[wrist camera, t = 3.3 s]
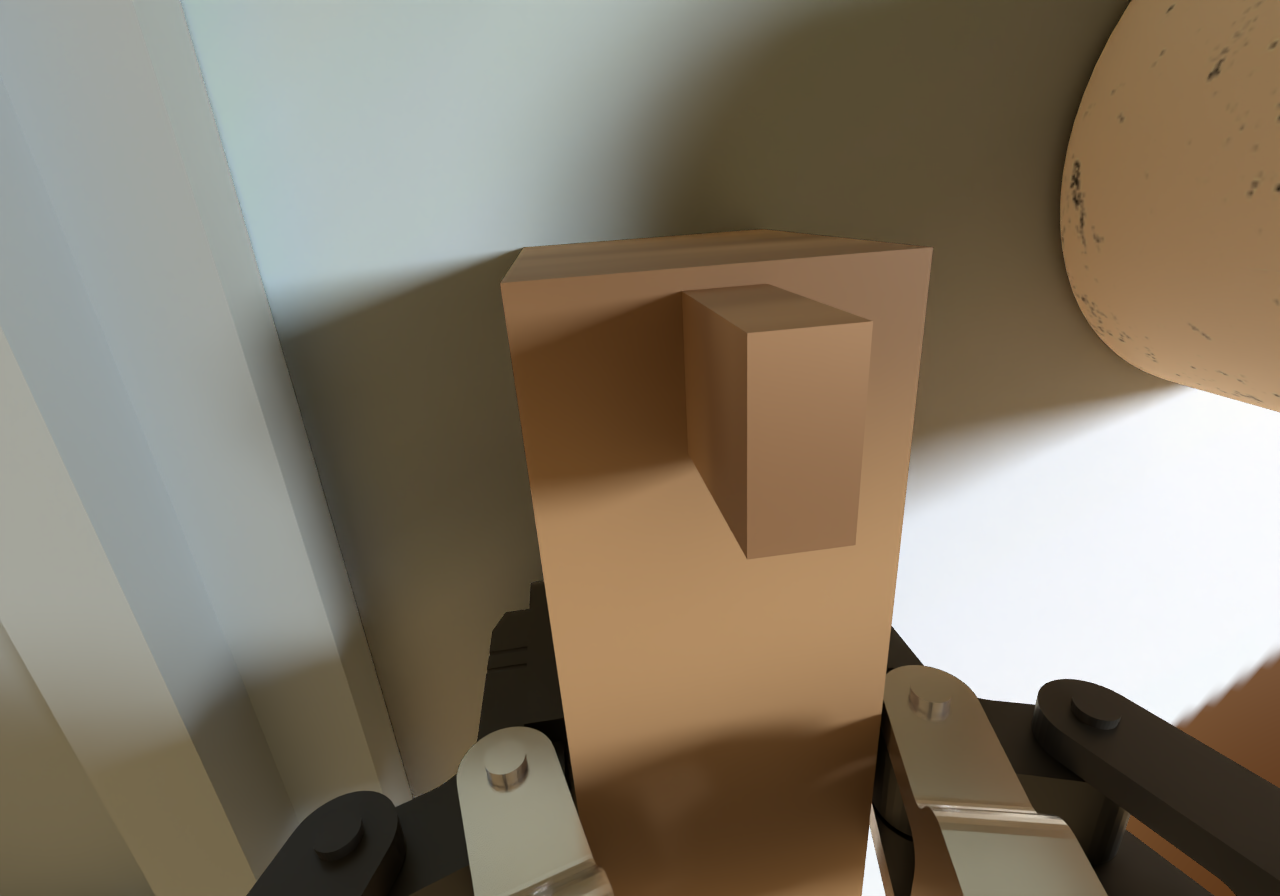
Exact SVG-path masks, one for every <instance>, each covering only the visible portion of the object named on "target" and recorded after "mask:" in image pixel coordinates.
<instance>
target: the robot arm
mask: <svg viewBox="0 0 1280 896" xmlns="http://www.w3.org/2000/svg"><path fill="white" fill-rule="evenodd" d="M1130 814H1131V815H1132V816H1134V817H1135V818H1137V819H1138V820H1139V821H1141V822H1142V823H1143V824H1145V825H1146V826H1148V827H1149V828H1150V829H1152V830H1153V831H1154V832H1156V833H1157V834H1159V835H1160V836H1161V837H1163V838H1164V839H1166V840H1167V841H1168V842H1170V843H1171V844H1173V845H1174V846H1175V847H1176V848H1178V849H1179V850H1181V851H1182V852H1183V853H1185V854H1186V855H1187V856H1189V857H1190V858H1192V859H1193V860H1194V861H1196V862H1197V863H1198V864H1200V865H1201V866H1203V867H1204V868H1205V869H1207V870H1208V871H1209V872H1211V873H1212V874H1214V875H1215V876H1216V877H1218V878H1219V879H1220V880H1221V881H1223V882H1224V883H1225V884H1226V885H1227V886H1228V887H1229V888H1230V889H1231V890H1232V891H1233V892H1234V894H1235V895H1236V896H1280V788H1278V787H1276V786H1275V785H1273V784H1271V783H1270V782H1268V781H1266V780H1265V779H1263V778H1261V777H1260V776H1258V775H1256V774H1254V773H1252V772H1251V771H1249V770H1248V769H1246V768H1244V767H1242V766H1241V765H1239V764H1237V763H1236V762H1234V761H1232V760H1231V759H1229V758H1227V757H1225V756H1224V755H1222V754H1220V753H1219V752H1217V751H1215V750H1214V749H1212V748H1210V747H1208V746H1207V745H1205V744H1203V743H1202V742H1200V741H1198V740H1196V739H1195V738H1193V737H1191V736H1190V735H1188V734H1186V733H1184V732H1183V731H1181V730H1179V729H1178V728H1176V727H1174V726H1173V725H1171V724H1169V723H1168V722H1166V721H1164V720H1162V719H1161V718H1159V717H1157V716H1156V715H1154V714H1152V713H1151V712H1149V711H1147V710H1145V709H1144V708H1142V707H1140V706H1139V705H1137V704H1135V703H1134V702H1132V701H1130V700H1128V699H1127V698H1125V697H1123V696H1122V695H1120V694H1118V693H1116V692H1114V691H1112V690H1110V689H1107V688H1105V687H1103V686H1100V685H1097V684H1094V683H1090V682H1086V681H1081V680H1074V679H1060V680H1054V681H1051V682H1048V683H1046V684H1045V685H1043V686H1042V687H1041V689H1040V690H1039V692H1038V696H1037V700H1036V705H1032V704H1022V703H1012V702H1002V701H992V700H986V699H980V698H977V696H976V695H975V693H974V692H973V691H972V690H971V689H970V688H969V687H968V686H967V685H966V684H965V683H964V682H962V681H961V680H959V679H958V678H957V677H955V676H953V675H951V674H949V673H947V672H945V671H942V670H939V669H936V668H933V667H928V666H924V665H923V664H922V663H921V662H920V660H919V659H918V658H917V657H916V655H915V654H914V653H913V652H912V651H911V649H910V648H909V647H908V646H907V644H906V643H905V642H904V641H903V639H902V638H901V637H900V636H899V635H898V633H897V632H896V631H895V630H894V628H893V627H892V626H891V633H890V642H889V651H888V660H887V669H886V678H885V687H884V696H883V705H882V714H881V723H880V732H879V741H878V750H877V760H876V769H875V778H874V787H873V796H872V805H871V814H870V823H869V825H870V829H871V834H872V838H873V842H874V847H875V851H876V855H877V860H878V864H879V868H880V873H881V877H882V881H883V886H884V890H885V894H886V896H1214V895H1212V894H1211V893H1210V892H1208V891H1207V890H1206V889H1204V888H1203V887H1202V886H1200V885H1199V884H1198V883H1196V882H1195V881H1194V880H1192V879H1191V878H1190V877H1188V876H1187V875H1186V874H1184V873H1183V872H1182V871H1180V870H1179V869H1178V868H1176V867H1175V866H1174V865H1172V864H1171V863H1170V862H1168V861H1167V860H1166V859H1164V858H1163V857H1161V856H1160V855H1159V854H1158V853H1156V852H1155V851H1154V850H1152V849H1151V848H1150V847H1148V846H1147V845H1146V844H1144V843H1143V842H1141V841H1140V840H1139V839H1138V838H1136V837H1135V836H1134V835H1132V834H1131V833H1130V832H1128V831H1127V830H1126V826H1127V823H1128V820H1129V817H1130ZM246 896H614V893H613V890H612V887H611V885H610V882H609V880H608V877H607V875H606V873H605V871H604V869H603V867H602V866H601V865H599V866H597V865H596V863H595V861H594V858H593V856H592V853H591V850H590V847H589V845H588V842H587V839H586V836H585V833H584V831H583V828H582V825H581V822H580V819H579V813H578V806H577V800H576V793H575V786H574V779H573V773H572V766H571V759H570V752H569V746H568V739H567V732H566V725H565V719H564V712H563V705H562V698H561V692H560V685H559V678H558V671H557V665H556V658H555V651H554V644H553V638H552V631H551V624H550V617H549V611H548V604H547V597H546V590H545V584H544V581H539V582H532V583H531V589H530V608H529V609H527V610H520V611H512V612H506V613H505V614H504V616H503V617H502V619H501V620H500V621H499V623H498V624H497V626H496V627H495V628H494V630H493V631H492V638H491V645H490V656H489V659H488V667H487V674H486V681H485V688H484V696H483V703H482V710H481V718H480V725H479V732H478V739H477V743H475V744H474V745H473V746H472V747H471V748H470V749H469V750H468V752H467V753H466V754H465V756H464V757H463V759H462V761H461V763H460V765H459V768H458V772H457V774H456V775H455V776H453V777H452V778H451V779H450V780H448V781H447V782H446V783H444V784H442V785H441V786H439V787H438V788H436V789H434V790H432V791H430V792H428V793H425V794H423V795H421V796H419V797H417V798H414V799H412V800H410V801H408V802H405V803H403V804H401V805H399V806H397V807H395V805H394V804H393V802H392V801H391V800H390V799H389V798H388V797H387V796H385V795H383V794H381V793H379V792H374V791H356V792H351V793H347V794H344V795H342V796H339V797H336V798H334V799H332V800H330V801H329V802H327V803H325V804H323V805H322V806H320V807H319V808H317V809H316V810H315V811H314V812H312V813H311V814H310V815H309V816H308V817H306V818H305V819H304V820H303V821H302V822H301V823H300V825H299V826H298V827H297V828H296V829H295V831H294V832H293V833H292V834H291V836H290V837H289V838H288V840H287V841H286V843H285V844H284V845H283V847H282V848H281V849H280V851H279V852H278V853H277V855H276V856H275V857H274V859H273V860H272V861H271V863H270V864H269V865H268V867H267V868H266V870H265V871H264V872H263V874H262V875H261V876H260V878H259V879H258V880H257V882H256V883H255V884H254V886H253V887H252V888H251V890H250V891H249V893H248V894H247V895H246Z"/></svg>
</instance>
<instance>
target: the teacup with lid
mask: <svg viewBox="0 0 1280 896" xmlns="http://www.w3.org/2000/svg"><path fill="white" fill-rule="evenodd" d="M1060 229H1061V241H1062V250H1063V255H1064V261H1065V266H1066V271H1067V274H1068V278H1069V281H1070V284H1071V288H1072V291H1073V293H1074V296H1075V298H1076V300H1077V302H1078V305H1079V307H1080V309H1081V311H1082V313H1083V314H1084V316H1085V318H1086V319H1087V321H1088V323H1089V324H1090V326H1091V327H1092V328H1093V330H1094V331H1095V332H1096V333H1097V335H1098V336H1099V337H1100V338H1101V339H1102V341H1103V342H1104V343H1106V344H1107V345H1108V346H1109V347H1110V348H1111V349H1112V350H1113V351H1114V352H1115V353H1116V354H1117V355H1118V356H1120V357H1121V358H1123V359H1124V360H1125V361H1127V362H1128V363H1129V364H1131V365H1133V366H1135V367H1137V368H1139V369H1141V370H1142V371H1144V372H1146V373H1149V374H1151V375H1154V376H1156V377H1159V378H1162V379H1164V380H1167V381H1171V382H1174V383H1178V384H1181V385H1185V386H1189V387H1192V388H1196V389H1199V390H1203V391H1206V392H1210V393H1213V394H1217V395H1220V396H1224V397H1228V398H1231V399H1235V400H1238V401H1242V402H1245V403H1249V404H1252V405H1256V406H1259V407H1263V408H1266V409H1270V410H1274V411H1277V412H1280V0H1132V1H1131V2H1130V3H1129V5H1128V6H1127V8H1126V10H1125V11H1124V13H1123V15H1122V17H1121V18H1120V20H1119V22H1118V23H1117V25H1116V27H1115V28H1114V30H1113V32H1112V34H1111V35H1110V37H1109V39H1108V41H1107V43H1106V45H1105V47H1104V49H1103V51H1102V53H1101V55H1100V57H1099V59H1098V61H1097V63H1096V66H1095V68H1094V70H1093V73H1092V75H1091V77H1090V80H1089V82H1088V85H1087V87H1086V89H1085V92H1084V94H1083V97H1082V100H1081V103H1080V106H1079V109H1078V112H1077V115H1076V118H1075V121H1074V125H1073V129H1072V132H1071V136H1070V140H1069V144H1068V148H1067V153H1066V159H1065V165H1064V171H1063V177H1062V188H1061V198H1060Z"/></svg>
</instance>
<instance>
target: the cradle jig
mask: <svg viewBox="0 0 1280 896" xmlns="http://www.w3.org/2000/svg"><path fill="white" fill-rule="evenodd" d="M356 791H374V792H379V793H381V794H383V795H385V796H387V797H388V798H389V799H390V800H391V801H392V802H393V804H394V805H395V807H397V806H399V805H401V804H403V803H405V802H408V801H410V800H412V799H413V797H412V794H411V791H410V787H409V784H408V780H407V777H406V773H405V770H404V767H403V763H402V760H401V756H400V753H399V749H398V746H397V743H396V739H395V736H394V732H393V729H392V725H391V722H390V719H389V715H388V712H387V708H386V705H385V701H384V698H383V695H382V691H381V688H380V684H379V681H378V677H377V674H376V671H375V667H374V664H373V660H372V657H371V653H370V650H369V646H368V643H367V640H366V636H365V633H364V629H363V626H362V622H361V619H360V616H359V612H358V609H357V605H356V602H355V598H354V595H353V592H352V588H351V585H350V581H349V578H348V574H347V571H346V568H345V564H344V561H343V557H342V554H341V550H340V547H339V544H338V540H337V537H336V533H335V530H334V526H333V523H332V520H331V516H330V513H329V509H328V506H327V502H326V499H325V496H324V492H323V489H322V485H321V482H320V478H319V475H318V471H317V468H316V465H315V461H314V458H313V454H312V451H311V447H310V444H309V441H308V437H307V434H306V430H305V427H304V423H303V420H302V417H301V413H300V410H299V406H298V403H297V399H296V396H295V393H294V389H293V386H292V382H291V379H290V375H289V372H288V369H287V365H286V362H285V358H284V355H283V351H282V348H281V345H280V341H279V338H278V334H277V331H276V327H275V324H274V321H273V317H272V314H271V310H270V307H269V303H268V300H267V296H266V293H265V290H264V286H263V283H262V279H261V276H260V272H259V269H258V266H257V262H256V259H255V255H254V252H253V248H252V245H251V242H250V238H249V235H248V231H247V228H246V224H245V221H244V218H243V214H242V211H241V207H240V204H239V200H238V197H237V194H236V190H235V187H234V183H233V180H232V176H231V173H230V170H229V166H228V163H227V159H226V156H225V152H224V149H223V146H222V142H221V139H220V135H219V132H218V128H217V125H216V121H215V118H214V115H213V111H212V108H211V104H210V101H209V97H208V94H207V91H206V87H205V84H204V80H203V77H202V73H201V70H200V67H199V63H198V60H197V56H196V53H195V49H194V46H193V43H192V39H191V36H190V32H189V29H188V25H187V22H186V19H185V15H184V12H183V8H182V5H181V1H180V0H0V896H246V895H247V894H248V893H249V891H250V890H251V888H252V887H253V886H254V884H255V883H256V882H257V880H258V879H259V878H260V876H261V875H262V874H263V872H264V871H265V870H266V868H267V867H268V865H269V864H270V863H271V861H272V860H273V859H274V857H275V856H276V855H277V853H278V852H279V851H280V849H281V848H282V847H283V845H284V844H285V843H286V841H287V840H288V838H289V837H290V836H291V834H292V833H293V832H294V831H295V829H296V828H297V827H298V826H299V825H300V823H301V822H302V821H303V820H304V819H305V818H306V817H308V816H309V815H310V814H311V813H312V812H314V811H315V810H316V809H317V808H319V807H320V806H322V805H323V804H325V803H327V802H329V801H330V800H332V799H334V798H336V797H339V796H342V795H344V794H347V793H351V792H356Z"/></svg>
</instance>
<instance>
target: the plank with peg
mask: <svg viewBox="0 0 1280 896" xmlns="http://www.w3.org/2000/svg"><path fill="white" fill-rule="evenodd" d="M932 253H933V247H927V246H917V245H908V244H898V243H889V242H880V241H870V240H861V239H851V238H842V237H833V236H823V235H814V234H804V233H795V232H786V231H776V230H767V229H755V230H742V231H730V232H717V233H704V234H691V235H678V236H665V237H652V238H639V239H626V240H613V241H600V242H587V243H574V244H561V245H548V246H535V247H524V248H523V249H522V251H521V252H520V254H519V255H518V257H517V258H516V260H515V261H514V263H513V264H512V266H511V267H510V269H509V270H508V272H507V273H506V275H505V276H504V278H503V279H502V281H501V282H500V287H501V294H502V300H503V307H504V314H505V321H506V327H507V334H508V341H509V348H510V354H511V361H512V368H513V375H514V381H515V388H516V395H517V402H518V408H519V415H520V422H521V429H522V435H523V442H524V449H525V456H526V462H527V469H528V476H529V483H530V489H531V496H532V503H533V509H534V516H535V523H536V530H537V536H538V543H539V550H540V557H541V563H542V570H543V577H544V584H545V590H546V597H547V604H548V611H549V617H550V624H551V631H552V638H553V644H554V651H555V658H556V665H557V671H558V678H559V685H560V692H561V698H562V705H563V712H564V719H565V725H566V732H567V739H568V746H569V752H570V759H571V766H572V773H573V779H574V786H575V793H576V800H577V806H578V813H579V819H580V822H581V825H582V828H583V831H584V833H585V836H586V839H587V842H588V845H589V847H590V850H591V853H592V856H593V858H594V861H595V863H596V865H597V866H599V865H601V866H602V867H603V869H604V871H605V873H606V875H607V877H608V880H609V882H610V885H611V887H612V890H613V893H614V896H861V895H862V886H863V877H864V868H865V859H866V850H867V841H868V832H869V823H870V814H871V805H872V796H873V787H874V778H875V769H876V760H877V750H878V741H879V732H880V723H881V714H882V705H883V696H884V687H885V678H886V669H887V660H888V651H889V642H890V633H891V624H892V615H893V606H894V597H895V588H896V579H897V570H898V561H899V551H900V542H901V533H902V524H903V515H904V506H905V497H906V488H907V479H908V470H909V461H910V452H911V443H912V434H913V425H914V416H915V407H916V398H917V389H918V380H919V371H920V362H921V353H922V343H923V334H924V325H925V316H926V307H927V298H928V289H929V280H930V271H931V262H932Z"/></svg>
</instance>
